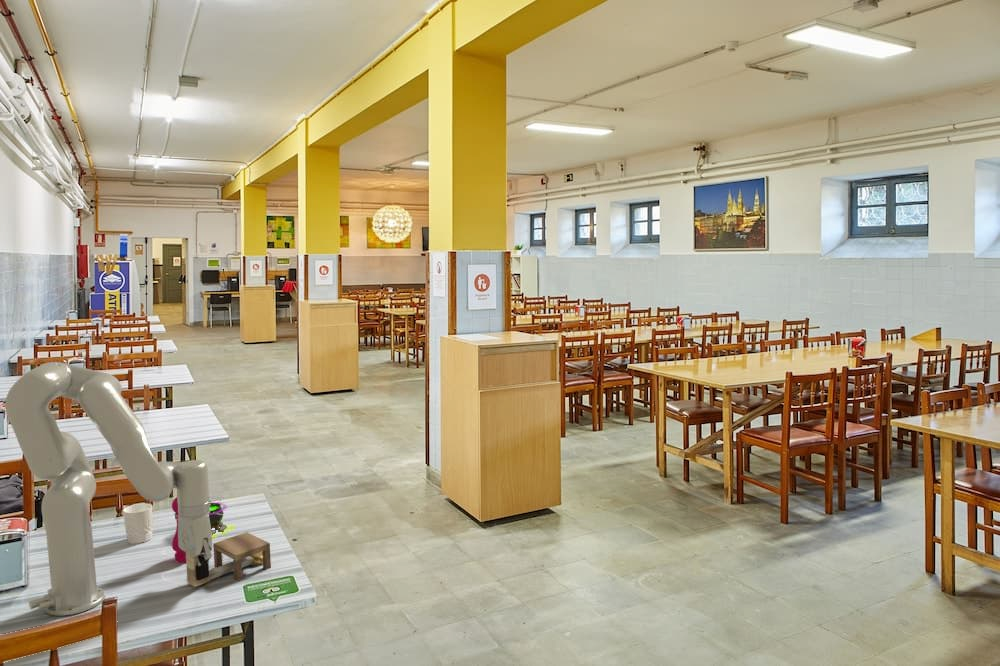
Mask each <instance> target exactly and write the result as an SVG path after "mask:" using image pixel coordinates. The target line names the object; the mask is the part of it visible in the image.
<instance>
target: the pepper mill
mask: <svg viewBox="0 0 1000 666" xmlns="http://www.w3.org/2000/svg"><path fill="white" fill-rule="evenodd" d="M171 509H172V511H173V512H174V519H175V520H176V528H175V533H174V535H173V538H172V542H171V548H172V550H173V551H174V552H175V553H174V561H175V562H177V563H181V564H186V552H185V551H183V550H181V549H180V548H179V546H178V518H179V514H178V499H177V496H176V497H175V498H174V499H173V501H172V503H171Z"/></svg>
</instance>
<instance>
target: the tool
mask: <svg viewBox="0 0 1000 666" xmlns="http://www.w3.org/2000/svg"><path fill="white" fill-rule="evenodd" d="M201 552H203V550H201ZM203 556H204V555H201V556H200V559H201V558H202V557H203ZM241 562H242V569H243V568H245V567H248V566H250V565H251V564H253V558H252V557H250V556H248V557H245V558H243V559H241ZM185 564H186V565H185V566H186V578H187V579H186V581H187V583H188V584H189V585H191V586H192V587H199V586H201V585H204V584H207V583H209V582H210V581H211V580H213V579H216V578H220V577H221V576H224V575H227V574H229V573H232V572H234V565H233V561H231V562H228V563H226V564H222V566H220V567H217V568H215V567H214V568H211V569H209V577H207V578H204V579H202V580H199V581H198V580H196V567H195V566H196V565H197V562H196V557H194V556H192V555H190V554H188V553H186V563H185ZM208 565H209V566H210V562H209V563H208ZM251 566H252V565H251Z"/></svg>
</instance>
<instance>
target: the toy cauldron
mask: <svg viewBox="0 0 1000 666" xmlns="http://www.w3.org/2000/svg"><path fill="white" fill-rule="evenodd" d="M212 498H214V499H217V497H215V494H213V496H212V497H210V496H209V499H212ZM218 499H219V502H214V501H213V502H210V513H209V514H208V515H209V519H210V525H211V529H212V528H215V530H211V533H212V537H214V538H213V539H216V538H215V537H217V538H219V536H215V535H213V534H215V533H216V530H218V532H222V534H226V533H225V532H224V530H225V529H226V532H227V533H228V534H230V533H231V532H230V531H229V532H230V533H229V532H228V531H227V529H233V530H234V529H235V527H234V526H235V525H234V526H231V527H230V528H229V527H228V526H227V525H225V524H223V522H221V521H223V517H224V514H225V512H224V511H225V510H226V509H227V508H228V505H227V504H226V503H223V502H220V501H222V499H221V498H220V497H218ZM222 506H223V507H222ZM219 527H220V528H219ZM226 535H227V534H226Z"/></svg>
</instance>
